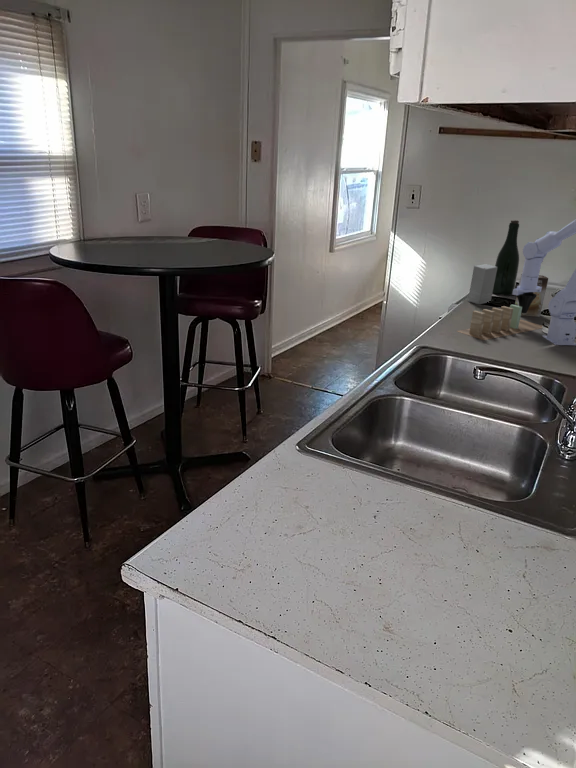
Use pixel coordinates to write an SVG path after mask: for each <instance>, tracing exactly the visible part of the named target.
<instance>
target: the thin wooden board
mask: <svg viewBox="0 0 576 768" xmlns="http://www.w3.org/2000/svg"><path fill="white" fill-rule="evenodd" d="M542 326H543V325H542V324H538V323H535V322H531V321H528V320H525V319H524V320H523V319H521V318H520V321H519V327H518V328H517V329H514V328H511V327H510V329H509V330H507V331H506V330H503V329H501V331H500V332H494V331H491V334H486V333H482V335H481V336H476V335H473V334H470V333H469V332H470V328H465V329H460V330H456V332H457V333H461V334H463V335H465V336H468V337H471V338H475V339H478V340H481V341H487V340H492V339H497V338H500V337H501V338H502V337H505V336H512V335H516V334H521V333H526V332H532V331H536V330H540V329H543V328H542Z"/></svg>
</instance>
